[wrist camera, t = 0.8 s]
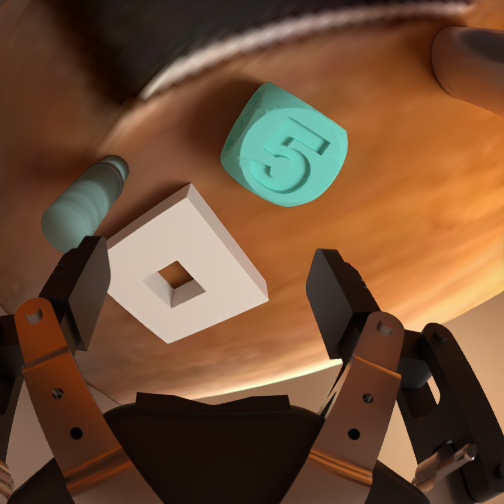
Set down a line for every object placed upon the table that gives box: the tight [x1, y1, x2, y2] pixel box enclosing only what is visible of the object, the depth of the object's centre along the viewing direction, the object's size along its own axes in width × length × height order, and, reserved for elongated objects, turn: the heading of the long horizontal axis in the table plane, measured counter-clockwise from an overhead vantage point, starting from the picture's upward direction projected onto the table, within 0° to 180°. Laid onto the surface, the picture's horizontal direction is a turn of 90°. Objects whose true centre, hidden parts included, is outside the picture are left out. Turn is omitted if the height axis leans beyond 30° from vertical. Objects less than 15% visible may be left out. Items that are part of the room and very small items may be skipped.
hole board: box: [106, 183, 269, 344], centre depth 35 cm, size 16×16×4 cm
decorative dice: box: [220, 82, 348, 207], centre depth 24 cm, size 8×8×8 cm
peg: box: [41, 155, 129, 253], centre depth 23 cm, size 4×4×12 cm
